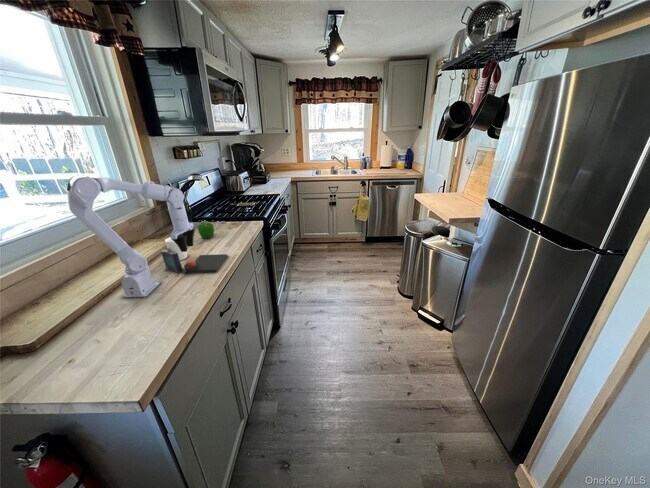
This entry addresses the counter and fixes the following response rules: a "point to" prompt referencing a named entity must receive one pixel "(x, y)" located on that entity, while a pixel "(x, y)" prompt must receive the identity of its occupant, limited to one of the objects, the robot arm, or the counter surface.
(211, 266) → the scale
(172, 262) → the dark blue flat block
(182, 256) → the white cup
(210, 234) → the bell pepper
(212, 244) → the counter surface
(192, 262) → the tare button
